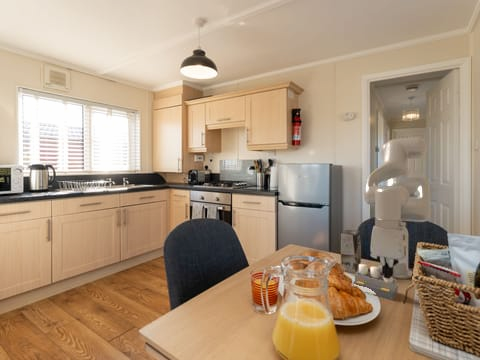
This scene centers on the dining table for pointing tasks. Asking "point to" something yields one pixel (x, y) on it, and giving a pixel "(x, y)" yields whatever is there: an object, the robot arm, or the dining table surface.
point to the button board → (378, 285)
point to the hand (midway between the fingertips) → (387, 276)
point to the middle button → (375, 272)
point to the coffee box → (351, 250)
